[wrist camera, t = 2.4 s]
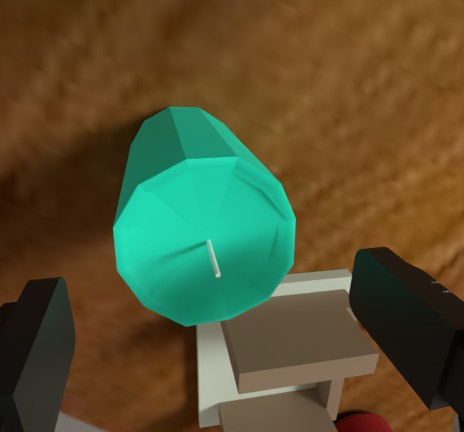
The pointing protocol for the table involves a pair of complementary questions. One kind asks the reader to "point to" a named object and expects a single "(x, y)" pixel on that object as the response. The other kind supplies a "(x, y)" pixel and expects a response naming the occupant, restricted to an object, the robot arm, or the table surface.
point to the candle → (200, 221)
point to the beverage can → (362, 423)
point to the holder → (283, 358)
